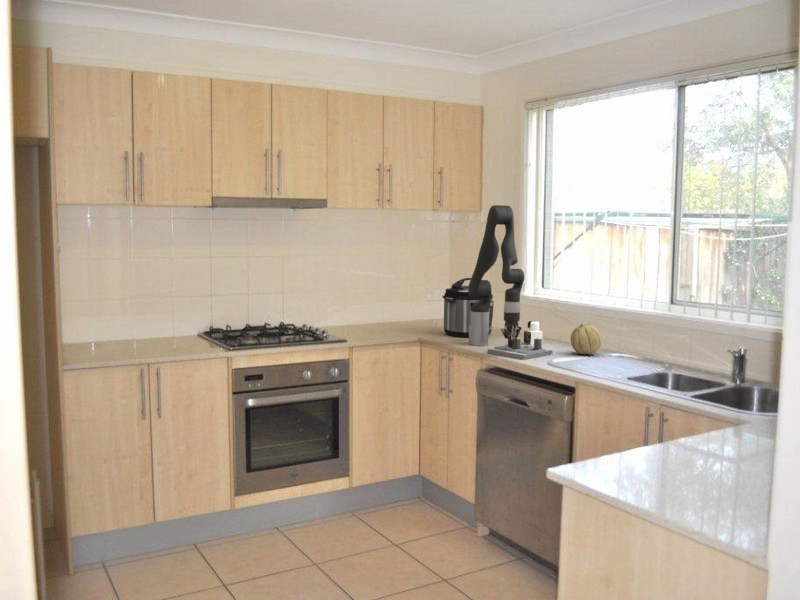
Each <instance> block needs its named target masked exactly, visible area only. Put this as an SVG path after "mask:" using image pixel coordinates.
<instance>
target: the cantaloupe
mask: <svg viewBox="0 0 800 600" xmlns="http://www.w3.org/2000/svg"><path fill="white" fill-rule="evenodd" d="M602 343H603V337H602V335H601V332H600V330H598V328H597V327H595V326H594V325H590V324H582V323H581V324H580V325H579V326H577V327H576V328H574V329H573V331H572V332H571V334H570V345H571V347H572V349H573V350H574V351H575V352H576V353H578V354H579V355H583V354H584V356H586V354H591V355H594V354H595V353H597V352H598V351H599V350H600V349H601V346H602Z"/></svg>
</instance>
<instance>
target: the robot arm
mask: <svg viewBox="0 0 800 600" xmlns="http://www.w3.org/2000/svg"><path fill="white" fill-rule="evenodd" d="M485 223H486V224H485V228H484V234H483V238H482V240H481V241H482V243H481V244H480V248H479V251H478V254H477V255H478V257H477V260H476V263H475V267H474V271H473V273H472V275H471V277H470V278H471V280H469V282H468V283H469V284H468V286H469V287H468V294H469V296H470V297H471V298H480V301H479V302H478V303H476V304H474V305H472V306H471V325H470V326H469V337H468V344H469V345H471V346H476V347H480V346H481V347H484V346H488V345H489V336H490V335H489V308H490V302H491V290H492V284H491V282H490V280H487V279H483V277H484V276H485V275H486V273H487V272H488V271H489V270H490V269H491V268H492V267H493V266H494V265H495V263H496V262H497V260H498V257H499V253H500V254H501V259H502V269H501V270H502V271H501V279H502V282H503V283H504V284H508V285H509V284H510V285H512V284H513V285H512V287H510V288H507V289H505V291H504V305H503V321H504V327H503V328H501V329H500V331H501V333H502V335H503V337H504V339H507V345H508V347H510V348H512V347H514V339H515V338H517V337H519V334H520V333H521V331H522V327H521V326H520V325H519V322H521V321H520V319H521V302H520V301H521V291H522V288H523V285H524V281H525V277H526V276H525V272H524V270H523V269H521V268H511V266H514V265H516V264H517V263H518V255H517V250H516V244H515V243H516V242H515V219H514V211H513V208H512V207H511V206H510V205H500V204H499V205H498V204H494V205H492V206H491V207H489V210H488V214H487V218H486V222H485ZM497 225H498V226H499V225H500V226H501V225H504V227H505V234H504V237H503V239H502V242H501V245H500V246H499V242H498V240H497V238H496V227H497Z"/></svg>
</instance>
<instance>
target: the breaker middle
mask: <svg viewBox="0 0 800 600" xmlns="http://www.w3.org/2000/svg"><path fill="white" fill-rule="evenodd" d="M521 338H522V337H519V336H518V337H517V338H515V339H514V347H513V348H512V349H513V350H516V349H521V348H520V345H521Z"/></svg>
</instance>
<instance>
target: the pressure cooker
mask: <svg viewBox="0 0 800 600" xmlns="http://www.w3.org/2000/svg"><path fill="white" fill-rule="evenodd" d="M471 278H472V277H464V278H461V279H459V280H458V281H456V282H454V283H452V284H451V287H447V288H445V292H444V295H441V296H442V299H443V331H444V333H445V334H446V335H448V336H453V337H461V338H469V326H470V325H471V306H472V305H474V304H476V303H478V302H479V301H480V298H471V297H470V296H469V294H468V287H469V285H463V284H464V282H465V281H470V280H471ZM493 295H494V294H492V289H491V302H490V308H489V335H488V336H490V334H492V333H491V332H492V331H493V318H494V317H493V315H494V297H493Z"/></svg>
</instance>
